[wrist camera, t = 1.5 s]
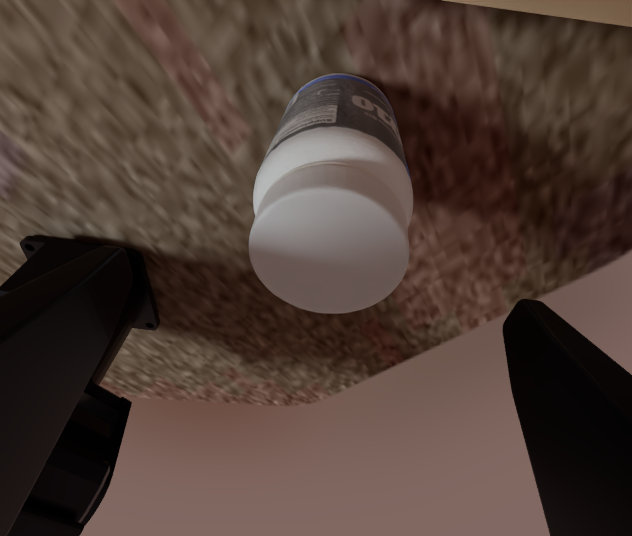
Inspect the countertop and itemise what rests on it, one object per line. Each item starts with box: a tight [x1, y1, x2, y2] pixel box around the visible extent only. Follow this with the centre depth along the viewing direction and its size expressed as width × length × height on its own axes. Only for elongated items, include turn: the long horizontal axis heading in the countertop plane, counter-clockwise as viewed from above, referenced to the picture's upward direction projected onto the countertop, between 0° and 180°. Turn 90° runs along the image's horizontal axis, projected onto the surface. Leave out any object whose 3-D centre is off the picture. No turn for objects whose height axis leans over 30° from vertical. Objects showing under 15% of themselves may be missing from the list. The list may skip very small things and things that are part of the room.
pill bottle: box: [249, 73, 413, 314], centre depth 12 cm, size 5×5×8 cm
